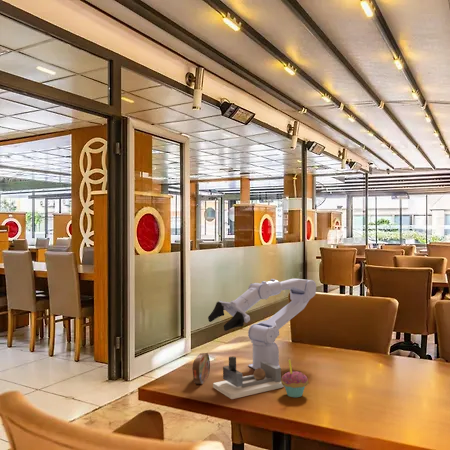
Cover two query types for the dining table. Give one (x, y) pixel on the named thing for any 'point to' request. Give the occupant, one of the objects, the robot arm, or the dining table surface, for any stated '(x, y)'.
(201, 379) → the tin
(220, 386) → the board
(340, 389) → the dining table surface
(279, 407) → the dining table surface
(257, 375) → the nut
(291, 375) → the cupcake
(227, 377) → the sliding jaw
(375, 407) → the dining table surface
